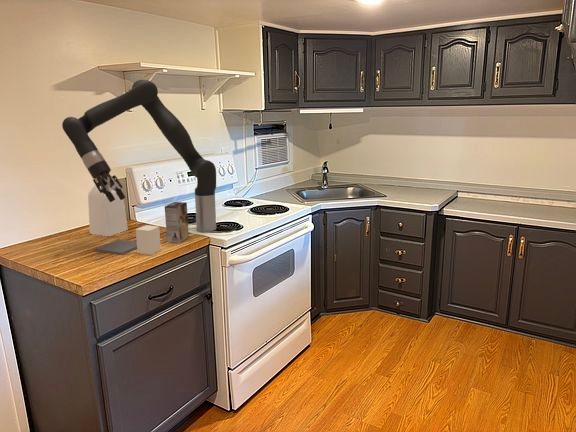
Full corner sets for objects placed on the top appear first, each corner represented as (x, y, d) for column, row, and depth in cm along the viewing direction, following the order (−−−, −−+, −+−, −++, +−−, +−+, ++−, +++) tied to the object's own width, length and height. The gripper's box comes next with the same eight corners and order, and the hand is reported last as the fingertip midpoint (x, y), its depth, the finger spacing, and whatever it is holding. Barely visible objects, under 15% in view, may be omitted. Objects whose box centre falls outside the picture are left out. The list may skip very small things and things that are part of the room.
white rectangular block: (137, 253, 176) (135, 229, 174) (147, 248, 182) (145, 225, 180) (151, 255, 174) (149, 230, 172) (160, 250, 180) (159, 226, 178)
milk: (110, 227, 214) (104, 174, 208) (128, 230, 209) (123, 175, 203) (89, 233, 203) (83, 177, 197) (108, 236, 199) (102, 179, 192)
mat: (94, 251, 179) (94, 248, 179) (118, 241, 192) (118, 239, 192) (122, 255, 174) (122, 252, 174) (145, 244, 187) (145, 242, 187)
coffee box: (175, 236, 200) (173, 201, 196) (189, 237, 198) (187, 202, 194) (166, 242, 191) (164, 206, 187) (180, 243, 190) (178, 206, 186)
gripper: (94, 159, 166) (117, 196, 167) (112, 159, 180) (133, 193, 181) (78, 169, 167) (101, 206, 168) (98, 168, 181) (119, 202, 182)
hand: (118, 199), depth 174 cm, fingers open, 8 cm apart
